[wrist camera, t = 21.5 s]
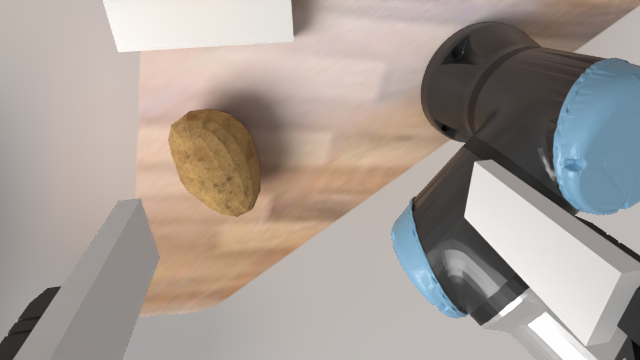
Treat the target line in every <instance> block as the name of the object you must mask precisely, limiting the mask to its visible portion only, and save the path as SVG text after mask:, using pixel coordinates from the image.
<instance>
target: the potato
mask: <svg viewBox="0 0 640 360" xmlns="http://www.w3.org/2000/svg"><path fill="white" fill-rule="evenodd" d="M168 141H169V145H170V150H171V155H172V157H173V160H174V163H175V165H176V168H177V171H178V174H179V177H180V180H181V182H182V183H183V185H184V186H185V188H186V189H187V191H189V192H190V193H191V194H193V195H194V196H195V197H196V198H198V199H199V200H200V201H202V202H203V203H204V204H205V205H207V206H208V207H209V208H210V209H212V210H214V211H216V212H218V213H220V214H224V215H230V216H236V217H238V216H240V215H242V214H244V213H246V212H248V211H250V210H252V208H253V207H254V205H255V202H256V200H257V197H258V195H259V192H260V181H261V174H260V166H259V160H258V156H257V153H256V149H255V146H254V143H253V140H252V137H251V135H250V133H249V132H248V131H247V130H246V128H245V127H244V126H243V125H242V123H241V122H239V121H238V120H237V119H235V118H234V117H232V116H231V115H230V114H228V113H224V112H220V111H216V110H213V109H204V110H196V111H189V112H188V113H187V114H186V115H184V116H183V117H182V118H181V119H179V120H178V121H177V122H175V123H174V124H172V125H171V129H170V134H169V139H168Z"/></svg>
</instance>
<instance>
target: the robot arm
mask: <svg viewBox="0 0 640 360" xmlns="http://www.w3.org/2000/svg"><path fill="white" fill-rule="evenodd" d="M421 102H422V107H423V111H424V114H425V116H426V118H427V119H428V121H429V122H430V124H431V125H432V126H433V127H434V128H435V129H436V130H438V131H439V132H440V133H442V134H443V135H445V136H446V137H448V138H450V139H452V140H455V141H459V142H464V143H465V144H464V146H462V147H461V148H460V150H459V151H458V152H457V153H456V154H455V155H454V156H453V157H452V158H451V159H450V160H449V162H448V163H447V164H446V165H445V166H444V167H443V168H442V169H441V170H440V171H439V173H438V174H437V175H436V176H435V177H434V178H433V179H432V180H431V181H430V182H429V184H427V186H426V187H425V188H424V189H423V190H422V191H421V192H420V193H419V194H418V195H417V196H416V197H413V198H412V199H411V201H410V202H409V205H408V207H407V208H406V209H405V210H404V212H403V213H402V214H401V215H400V216H399V218H398V219H397V220H396V221H395V223H394V225H393V228H392V233H391V236H392V242H393V247H394V250H395V253H396V256H397V258H398V260H399V262H400V264H401V265H402V267H403V269H404V271H405V272H406V274H407V275H408V277H409V278H410V280H411V281H412V282H413V284H414V285H415V286H416V288H417V289H418V290H419V291H420V292H421V293H422V295H423V296H424V297H425V298H426V299H427V300H428V301H429V302H430V303H431V304H432V305H436V306H437V308H438V309H439V310H440V311H441V312H442V313H444V314H445V315H447V316H449V317H452V318H460V317H465V316H467V315H468V313H469V314H470V315H471V316H472V317H473V318H474V319H475V320H476V321H477V323H479V325H480V326H481V327H483V328H484V329H491V330H498V331H505V332H508V333H510V334H512V336H513V337H514V338H515V339H517V341H518V342H519V343H520V344H521V345H522V346H523V347H525V349H526V350H527V351H528V352H529V353H530V354H531V355H532V356H533V357H534V358H535V359H536V360H640V256H639V255H638V254H637V253H635V252H634V251H632V250H631V249H629V248H628V247H626V246H625V245H624V244H622V243H618V241H617V240H616V239H615V238H613V237H612V236H610V235H607V234H606V232H604V231H603V230H601V229H600V228H598V227H597V226H595V225H594V224H593V223H591V222H588V221H586V220H584V219H581V218H579V217H577V216H575V215H576V214H577V213H578V212H579V211H581V212H586V213H592V214H596V215H605V214H607V215H608V214H613V213H616V212H617V211H618V210H619V208H620V209H626V208H629V207H631V206H633V205H635V204H636V203H638V202H639V201H640V66H638V65H634V64H630V63H629V62H628V61H626V60H622V59H618V58H610V59H606V58H600V57H595V56H588V55H583V54H577V53H572V52H566V51H560V50H554V49H549V48H542V47H541V46H539V45H538V44H537V43H536V42H535V41H534V40H532V39H531V38H530V37H529V36H528V35H527V34H525V33H524V32H523V31H522V30H520V29H518V28H516V27H514V26H511V25H508V24H502V23H494V22H483V23H477V24H473V25H470V26H468V27H465V28H463V29H461V30H459V31H458V32H456V33H455V34H453V35H452V36H451V37H449V38H448V39H447V40H446V41H445V42H444V43H443V44H442V45H441V46H440V47H439V48H438V50H437V51H436V52H435V54H434V55H433V57H432V58H431V60H430V62H429V64H428V66H427V68H426V71H425V74H424V77H423V81H422V86H421ZM159 258H160V256H159V253H158V250H157V247H156V244H155V241H154V238H153V235H152V232H151V229H150V226H149V223H148V220H147V217H146V214H145V210H144V207H143V204H142V201H141V198H140V199H131V200H123V201H118V202H117V204H116V205H115V207H114V208H113V210H112V211H111V213H110V214H109V216H108V217H107V219H106V220H105V222H104V223H103V225H102V226H101V228H100V229H99V231H98V233H97V234H96V235H95V237H94V238H93V240H92V241H91V243H90V244H89V246H88V248H87V249H86V251H85V252H84V253H83V255H82V257H81V258H80V260H79V261H78V263H77V264H76V266H75V267H74V269H73V270H72V272H71V273H70V275H69V276H68V278H67V279H66V281H65V282H64V284H63V285H62V286H60V287H53V288H47V289H46V290H45V291H44V292H43V293H42V294H40V295H39V296H38V297H37V298H35V299H34V300H33V301H32V302H31V303H30V304H29V305H28V306H27V308H26V309H25V310H24V312H23V313H22V315H21V316H20V317H19V319H18V322H17V323H15V324H14V325H13V327H12V328H11V330H10V331H9V333H8V336H7V337H5V338H4V339H3V341H2V342H1V343H0V360H122V359H123V356H124V353H125V351H126V348H127V345H128V343H129V340H130V337H131V334H132V332H133V329H134V326H135V323H136V320H137V318H138V315H139V313H140V310H141V307H142V304H143V302H144V299H145V296H146V293H147V291H148V288H149V285H150V282H151V280H152V277H153V274H154V271H155V269H156V266H157V263H158V260H159Z"/></svg>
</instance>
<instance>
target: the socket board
mask: <svg viewBox="0 0 640 360" xmlns="http://www.w3.org/2000/svg"><path fill="white" fill-rule="evenodd" d="M103 3H104V6H105V9H106V13H107V16H108V19H109V23H110V26H111V30H112V33H113V37H114V39H115V43H116V47H117V50H118V52H127V51H145V50H161V49H178V48H194V47H211V46H227V45H244V44H260V43H277V42H293V41H294V35H293V20H292V6H291V0H103Z"/></svg>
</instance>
